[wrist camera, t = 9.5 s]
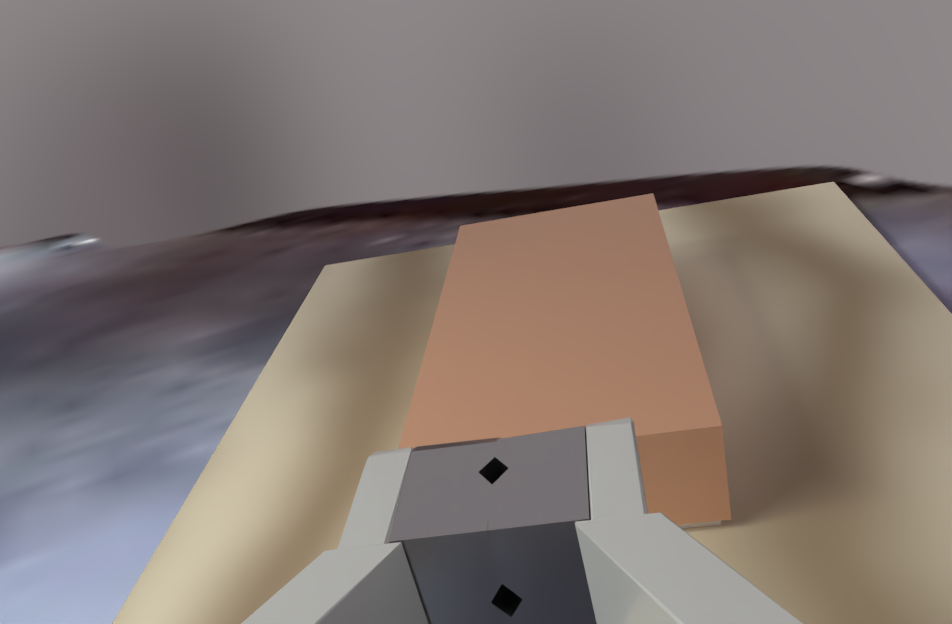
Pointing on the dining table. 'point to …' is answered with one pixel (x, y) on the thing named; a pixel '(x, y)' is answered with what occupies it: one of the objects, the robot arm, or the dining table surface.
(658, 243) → the tile
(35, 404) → the dining table surface
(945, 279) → the dining table surface
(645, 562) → the robot arm
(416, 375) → the board
